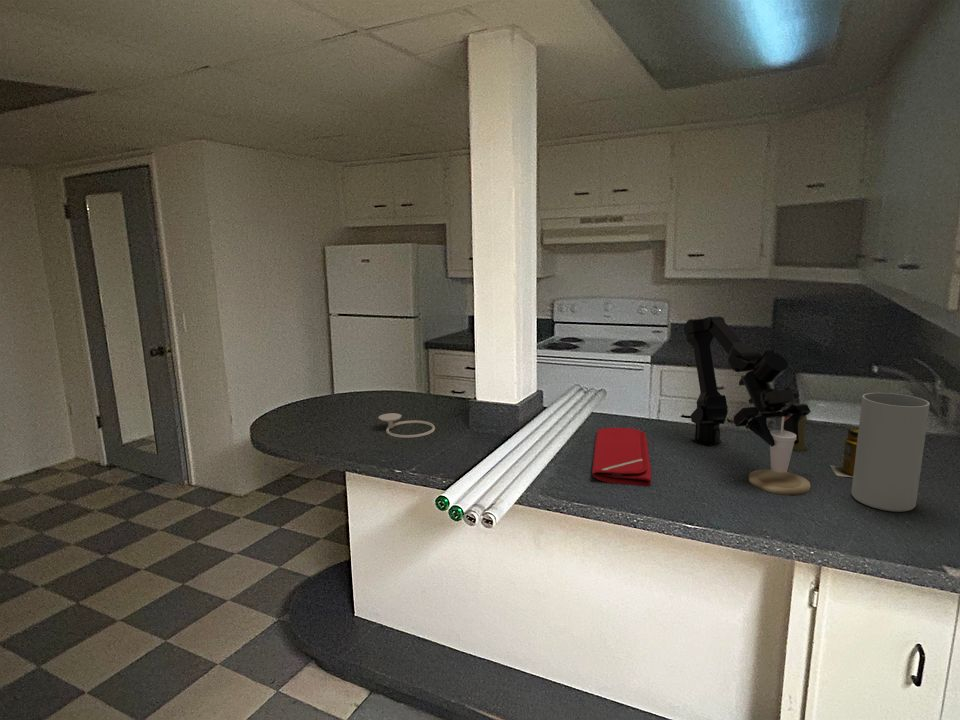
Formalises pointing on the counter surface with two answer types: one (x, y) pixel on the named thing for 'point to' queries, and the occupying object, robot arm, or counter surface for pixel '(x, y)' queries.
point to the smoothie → (781, 448)
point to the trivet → (779, 482)
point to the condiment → (848, 455)
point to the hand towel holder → (394, 417)
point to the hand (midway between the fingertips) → (785, 444)
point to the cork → (800, 436)
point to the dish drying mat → (622, 457)
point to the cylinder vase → (889, 451)
